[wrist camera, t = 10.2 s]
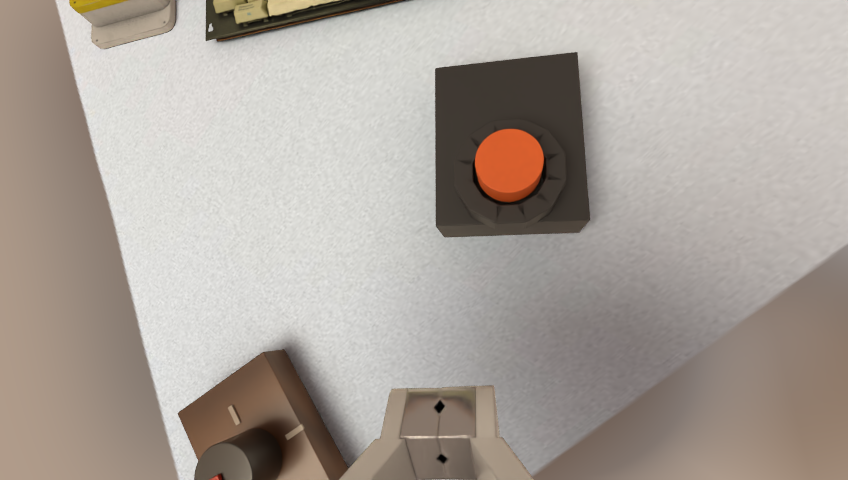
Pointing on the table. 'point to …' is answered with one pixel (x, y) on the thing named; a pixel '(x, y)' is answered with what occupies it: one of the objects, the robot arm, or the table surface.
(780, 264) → the table surface
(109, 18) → the emergency button
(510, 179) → the push button
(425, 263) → the table surface
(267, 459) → the knob
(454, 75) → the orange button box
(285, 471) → the walnut panel
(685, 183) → the table surface
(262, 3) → the keyboard
